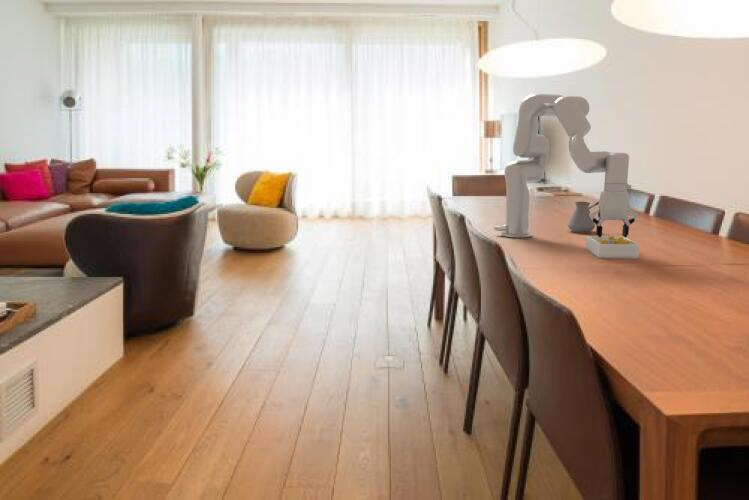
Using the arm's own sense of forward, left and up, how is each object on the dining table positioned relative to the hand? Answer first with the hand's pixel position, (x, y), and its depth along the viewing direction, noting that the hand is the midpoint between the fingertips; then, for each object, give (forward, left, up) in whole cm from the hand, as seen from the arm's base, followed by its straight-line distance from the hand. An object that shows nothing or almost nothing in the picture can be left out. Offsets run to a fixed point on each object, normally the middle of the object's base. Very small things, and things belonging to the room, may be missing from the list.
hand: (612, 236), depth 219 cm
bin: (0, 0, -6) cm, 6 cm away
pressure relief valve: (0, -6, -3) cm, 7 cm away
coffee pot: (+6, +52, -6) cm, 53 cm away
